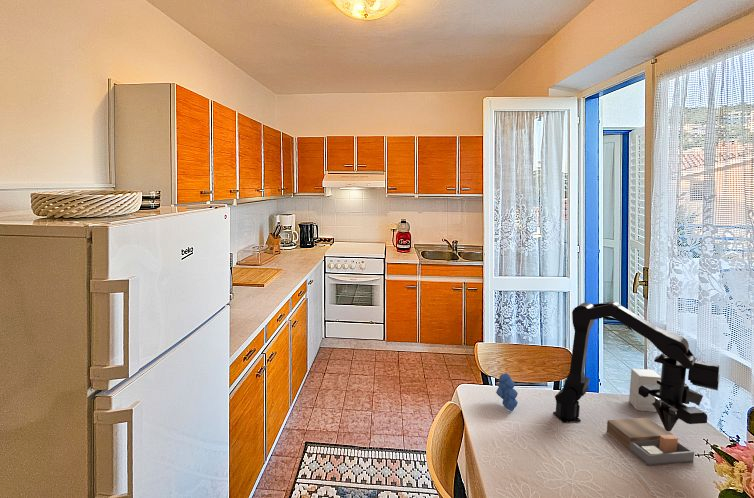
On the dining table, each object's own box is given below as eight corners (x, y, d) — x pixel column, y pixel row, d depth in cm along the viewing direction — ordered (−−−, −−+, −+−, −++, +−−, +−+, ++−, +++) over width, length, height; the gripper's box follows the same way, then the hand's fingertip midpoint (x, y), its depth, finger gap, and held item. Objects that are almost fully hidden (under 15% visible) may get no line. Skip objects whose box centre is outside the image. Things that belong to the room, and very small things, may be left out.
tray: (648, 466, 117) (649, 455, 117) (629, 450, 124) (630, 441, 124) (693, 462, 119) (694, 452, 118) (672, 447, 126) (673, 437, 126)
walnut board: (629, 450, 124) (630, 437, 124) (606, 432, 134) (607, 420, 133) (672, 447, 126) (673, 434, 125) (646, 429, 136) (647, 417, 135)
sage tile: (641, 446, 122) (640, 452, 122) (651, 454, 118) (650, 461, 118) (654, 445, 122) (653, 452, 122) (664, 453, 118) (664, 460, 118)
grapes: (488, 400, 154) (489, 369, 153) (505, 399, 156) (507, 368, 154) (502, 416, 143) (504, 382, 142) (521, 415, 144) (523, 381, 143)
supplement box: (659, 412, 147) (662, 377, 145) (636, 410, 148) (639, 375, 147) (650, 402, 154) (653, 369, 152) (628, 400, 155) (630, 367, 154)
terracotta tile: (659, 448, 124) (664, 452, 122) (660, 435, 124) (665, 439, 122) (671, 447, 125) (676, 451, 123) (672, 434, 124) (678, 438, 123)
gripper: (728, 392, 114) (722, 447, 116) (671, 365, 132) (667, 413, 134) (691, 395, 112) (685, 450, 114) (639, 367, 131) (635, 415, 133)
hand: (668, 430), depth 124 cm, fingers closed
